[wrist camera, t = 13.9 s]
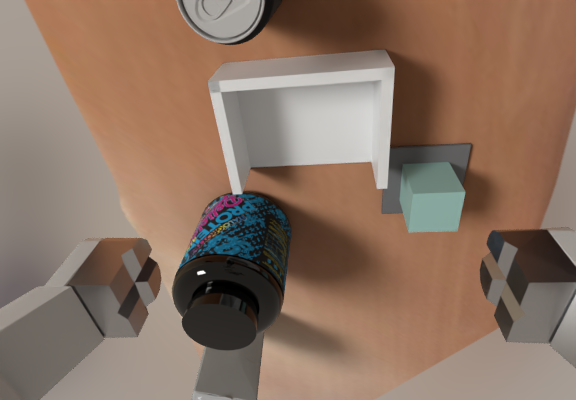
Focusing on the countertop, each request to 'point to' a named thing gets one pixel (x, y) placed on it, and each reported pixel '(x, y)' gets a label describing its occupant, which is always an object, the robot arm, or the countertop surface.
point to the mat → (420, 154)
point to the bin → (305, 112)
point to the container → (233, 271)
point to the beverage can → (227, 18)
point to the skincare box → (229, 373)
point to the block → (431, 197)
